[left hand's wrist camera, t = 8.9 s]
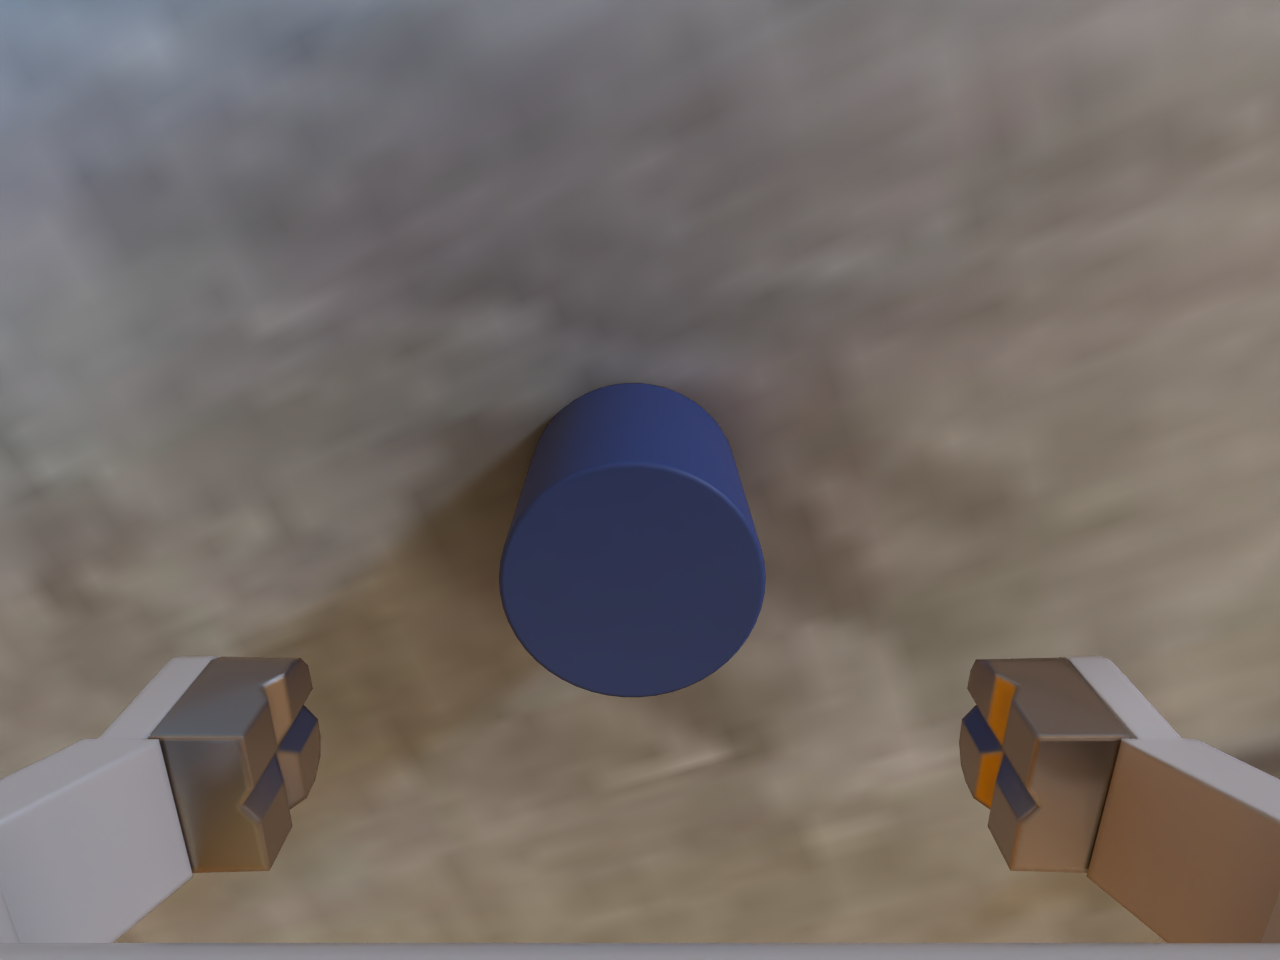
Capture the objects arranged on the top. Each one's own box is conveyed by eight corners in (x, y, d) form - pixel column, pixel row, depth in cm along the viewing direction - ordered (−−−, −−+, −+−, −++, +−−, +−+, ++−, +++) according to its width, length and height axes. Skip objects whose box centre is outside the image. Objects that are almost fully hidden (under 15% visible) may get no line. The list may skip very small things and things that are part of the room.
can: (516, 552, 19) (480, 675, 15) (548, 363, 18) (520, 438, 13) (708, 587, 20) (729, 718, 15) (757, 404, 18) (797, 491, 14)
